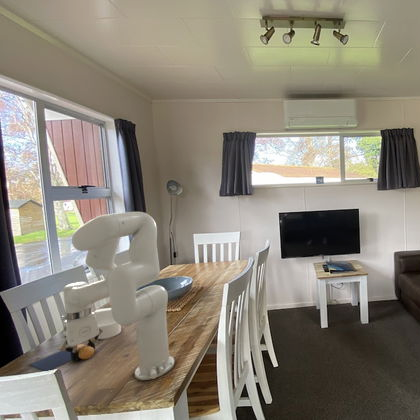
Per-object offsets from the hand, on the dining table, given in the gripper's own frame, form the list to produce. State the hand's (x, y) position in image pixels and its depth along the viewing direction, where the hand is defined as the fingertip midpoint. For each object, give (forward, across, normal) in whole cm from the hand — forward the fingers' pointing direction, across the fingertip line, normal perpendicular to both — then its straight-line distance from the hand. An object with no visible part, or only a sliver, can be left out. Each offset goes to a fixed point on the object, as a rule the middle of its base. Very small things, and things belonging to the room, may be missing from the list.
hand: (83, 356), depth 109 cm
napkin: (0, -4, +8) cm, 9 cm away
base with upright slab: (+1, +15, +10) cm, 18 cm away
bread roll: (0, 0, 0) cm, 0 cm away
